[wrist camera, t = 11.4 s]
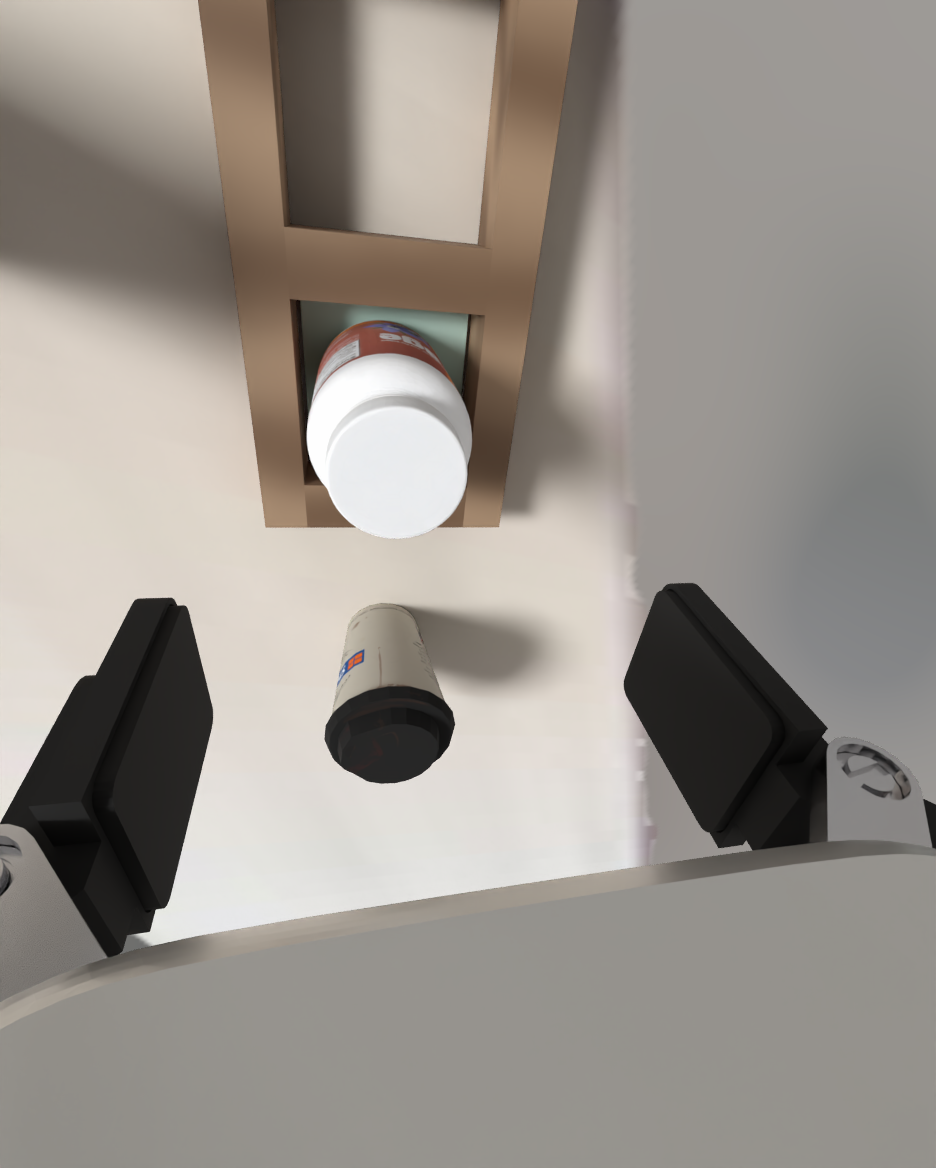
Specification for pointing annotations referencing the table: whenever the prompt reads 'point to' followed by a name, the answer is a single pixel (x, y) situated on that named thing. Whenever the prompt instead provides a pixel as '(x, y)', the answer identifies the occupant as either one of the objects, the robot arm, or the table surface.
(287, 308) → the holder frame
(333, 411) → the pill bottle
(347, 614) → the table surface
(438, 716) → the coffee cup
